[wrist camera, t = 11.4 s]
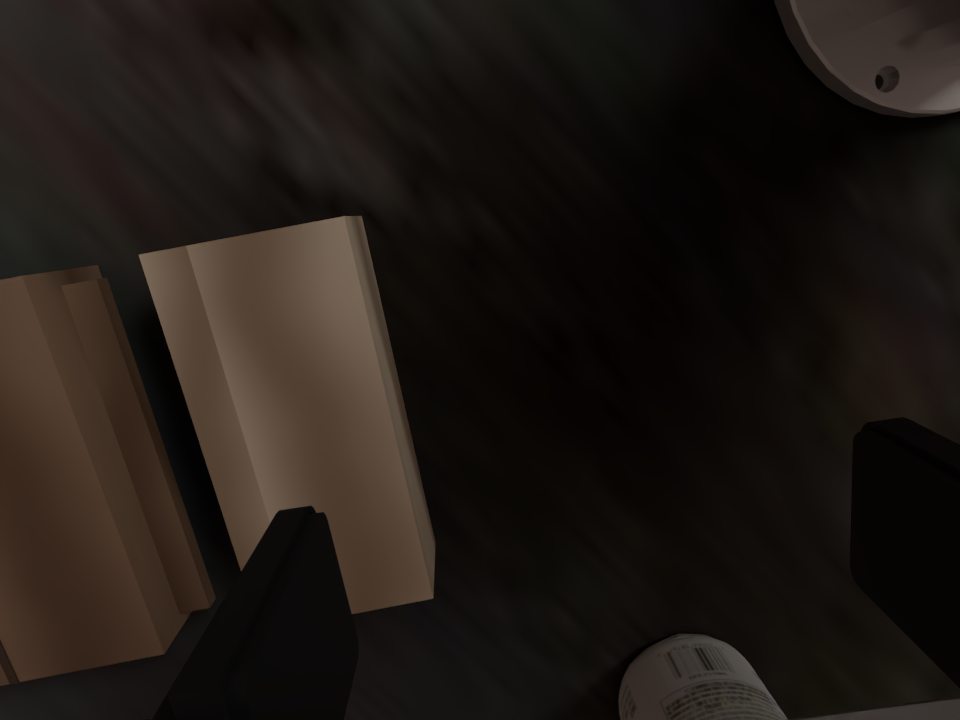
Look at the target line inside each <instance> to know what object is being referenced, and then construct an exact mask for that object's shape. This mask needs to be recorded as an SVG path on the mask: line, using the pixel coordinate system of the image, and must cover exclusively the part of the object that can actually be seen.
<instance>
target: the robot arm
mask: <svg viewBox="0 0 960 720" xmlns="http://www.w3.org/2000/svg"><path fill="white" fill-rule="evenodd" d="M774 2H775V5H776V8H777V10H778V13H779V16H780V18H781V21H782V24H783V26H784V29H785V32H786V34H787V36H788V38H789V40H790V41H791V43H792V44H793V46H794V48H795V49H796V51H797V52H798V54H799V56H800V57H801V59H802V61H803V62H804V64H805V65H806V66H807V67H808V68H809V69H810V70H811V71H812V72H813V73H814V74H815V75H816V76H817V77H818V78H819V79H820V80H821V81H822V82H823V83H824V85H825V86H826V87H828V88H829V89H831V90H832V91H834V92H835V93H837V94H839V95H840V96H842V97H843V98H845V99H846V100H848V101H849V102H851V103H852V104H855V105H858V106H860V107H863V108H866V109H869V110H871V111H874V112H877V113H879V114H885V115H893V116H900V117H908V118H915V117H927V116H939V115H945V114H950V113H954V112H958V111H960V0H774ZM850 569H851V573H852V576H853V578H854V580H855V582H856V584H857V585H858V586H859V588H860V589H861V590H862V591H863V592H864V593H865V594H866V595H867V596H868V597H869V598H870V599H871V600H872V601H873V602H874V603H875V604H876V605H877V606H878V607H879V608H880V609H881V610H882V611H883V612H884V613H885V614H886V615H887V616H888V617H889V618H890V619H891V620H892V621H893V622H894V623H895V624H896V625H897V626H898V627H899V628H900V629H901V630H902V631H903V632H904V633H905V634H906V635H907V636H908V637H909V638H910V639H911V640H912V641H913V642H914V643H915V644H916V645H917V646H918V647H919V648H920V649H921V650H922V651H923V652H924V653H925V654H926V655H927V656H928V657H929V658H930V659H931V660H932V661H933V662H934V663H935V664H936V665H937V666H938V667H939V668H940V669H941V670H942V671H943V672H944V673H945V674H946V675H947V676H948V677H949V678H950V679H951V680H952V681H953V682H954V683H955V684H956V685H957V686H958V687H959V688H960V445H959V444H957V443H955V442H953V441H951V440H949V439H947V438H945V437H943V436H941V435H939V434H937V433H935V432H933V431H931V430H929V429H927V428H925V427H923V426H921V425H919V424H917V423H915V422H913V421H911V420H909V419H907V418H903V417H902V418H895V419H888V420H882V421H875V422H868V423H866V424H865V425H864V426H863V428H862V430H861V432H858V433H857V434H855V437H854V440H853V465H852V504H851V544H850ZM357 660H358V638H357V633H356V629H355V625H354V621H353V617H352V613H351V609H350V605H349V602H348V598H347V594H346V590H345V586H344V582H343V578H342V574H341V570H340V566H339V562H338V558H337V554H336V550H335V547H334V543H333V539H332V535H331V531H330V527H329V523H328V519H327V516H326V515H325V513H324V512H320V513H316V511H315V509H314V507H312V506H305V507H298V508H291V509H285V510H279V511H278V512H277V513H276V514H275V516H274V518H273V519H272V521H271V523H270V524H269V526H268V528H267V529H266V531H265V533H264V534H263V536H262V538H261V539H260V541H259V543H258V544H257V546H256V548H255V550H254V551H253V553H252V555H251V556H250V558H249V560H248V561H247V563H246V565H245V566H244V568H243V570H242V571H241V573H240V575H239V576H238V578H237V580H236V581H235V583H234V585H233V586H232V588H231V590H230V591H229V593H228V595H227V596H226V598H225V600H224V601H223V602H222V604H221V605H220V607H219V609H218V610H217V612H216V614H215V615H214V617H213V619H212V620H211V622H210V624H209V625H208V627H207V629H206V630H205V632H204V634H203V635H202V637H201V639H200V640H199V642H198V644H197V645H196V647H195V649H194V650H193V652H192V654H191V655H190V657H189V659H188V660H187V662H186V664H185V666H184V667H183V669H182V671H181V672H180V674H179V676H178V677H177V679H176V681H175V682H174V684H173V686H172V687H171V689H170V691H169V692H168V694H167V696H166V697H165V699H164V701H163V702H162V704H161V706H160V707H159V709H158V711H157V712H156V714H155V716H154V717H153V719H152V720H344V716H345V711H346V707H347V703H348V699H349V694H350V690H351V686H352V682H353V677H354V673H355V669H356V665H357ZM146 720H150V719H146ZM788 720H960V696H957V697H949V698H942V699H934V700H927V701H920V702H912V703H905V704H897V705H890V706H883V707H875V708H868V709H860V710H853V711H846V712H839V713H831V714H824V715H817V716H810V717H802V718H795V719H788Z"/></svg>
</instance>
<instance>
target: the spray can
mask: <svg viewBox="0 0 960 720" xmlns="http://www.w3.org/2000/svg"><path fill="white" fill-rule="evenodd" d="M618 702H619V715H620V719H621V720H788V719H787V718H786V716H785V715H784V713H783V712H782V710H781V709H780V708H779V706H778V705H777V703H776V702H775V700H774V699H773V697H772V696H771V694H770V693H769V691H768V690H767V688H766V687H765V686H764V684H763V683H762V681H761V680H760V678H759V677H758V675H757V674H756V672H755V671H754V669H753V668H752V667H751V665H750V664H749V663H748V661H747V660H746V659H745V658H744V657H743V656H742V655H741V654H740V653H739V652H738V651H737V650H736V649H734V648H733V647H732V646H731V645H729V644H728V643H726V642H723V641H720V640H717V639H715V638H712V637H710V636H707V635H701V634H675V635H673V636H671V637H668V638H666V639H664V640H662V641H660V642H658V643H656V644H654V645H652V646H650V647H648V648H647V649H645V650H644V651H643V652H642V653H641V654H639V655H638V656H637V657H636V658H635V659H634V660H633V661H632V662H631V663H630V664H629V665H628V668H627V670H626V672H625V674H624V676H623V678H622V681H621V686H620V691H619V699H618Z"/></svg>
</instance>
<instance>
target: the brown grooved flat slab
mask: <svg viewBox="0 0 960 720" xmlns="http://www.w3.org/2000/svg"><path fill="white" fill-rule="evenodd" d="M215 599H216V597H215V594H214V591H213V588H212V585H211V582H210V579H209V576H208V573H207V570H206V567H205V564H204V561H203V558H202V556H201V553H200V550H199V547H198V544H197V541H196V538H195V535H194V532H193V529H192V526H191V523H190V520H189V517H188V514H187V512H186V509H185V506H184V503H183V500H182V497H181V494H180V491H179V488H178V485H177V482H176V479H175V476H174V473H173V470H172V467H171V465H170V462H169V459H168V456H167V453H166V450H165V447H164V444H163V441H162V438H161V435H160V432H159V429H158V426H157V423H156V421H155V418H154V415H153V412H152V409H151V406H150V403H149V400H148V397H147V394H146V391H145V388H144V385H143V382H142V379H141V377H140V374H139V371H138V368H137V365H136V362H135V359H134V356H133V353H132V350H131V347H130V344H129V341H128V338H127V335H126V333H125V330H124V327H123V324H122V321H121V318H120V315H119V312H118V309H117V306H116V303H115V300H114V297H113V294H112V291H111V288H110V286H109V283H108V280H107V277H106V278H102V276H101V273H100V270H99V267H98V265H95V266H88V267H81V268H74V269H67V270H60V271H53V272H46V273H39V274H32V275H25V276H19V277H13V278H8V279H3V280H0V686H2V685H7V684H10V685H14V684H18V683H19V682H23V681H28V680H33V679H38V678H44V677H49V676H54V675H59V674H64V673H70V672H75V671H80V670H85V669H90V668H95V667H101V666H106V665H111V664H116V663H121V662H127V661H132V660H137V659H142V658H147V657H153V656H158V655H163V654H165V653H166V651H167V649H168V648H169V646H170V645H171V643H172V642H173V640H174V639H175V637H176V635H177V634H178V632H179V631H180V629H181V628H182V626H183V625H184V623H185V622H186V620H187V618H188V617H189V615H190V614H191V612H192V611H196V610H201V609H207V608H210V607H211V605H212V604H213V602H214V601H215Z"/></svg>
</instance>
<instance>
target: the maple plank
mask: <svg viewBox="0 0 960 720" xmlns="http://www.w3.org/2000/svg"><path fill="white" fill-rule="evenodd" d="M139 258H140V261H141V264H142V267H143V270H144V273H145V276H146V280H147V283H148V286H149V289H150V292H151V295H152V298H153V301H154V304H155V307H156V310H157V313H158V317H159V320H160V323H161V326H162V329H163V332H164V335H165V338H166V341H167V344H168V347H169V350H170V354H171V357H172V360H173V363H174V366H175V369H176V372H177V375H178V378H179V381H180V384H181V387H182V391H183V394H184V397H185V400H186V403H187V406H188V409H189V412H190V415H191V418H192V421H193V424H194V428H195V431H196V434H197V437H198V440H199V443H200V446H201V449H202V452H203V455H204V458H205V461H206V465H207V468H208V471H209V474H210V477H211V480H212V483H213V486H214V489H215V492H216V495H217V499H218V502H219V505H220V508H221V511H222V514H223V517H224V520H225V523H226V526H227V529H228V532H229V536H230V539H231V542H232V545H233V548H234V551H235V554H236V557H237V560H238V563H239V566H240V569H241V571H242V570H243V568H244V566H245V565H246V563H247V561H248V560H249V558H250V556H251V555H252V553H253V551H254V550H255V548H256V546H257V544H258V543H259V541H260V539H261V538H262V536H263V534H264V533H265V531H266V529H267V528H268V526H269V524H270V523H271V521H272V519H273V518H274V516H275V514H276V513H277V512H278V511H279V510H285V509H291V508H298V507H305V506H312V507H314V509H315V511H316V513H320V512H324V513H325V515H326V516H327V519H328V523H329V527H330V531H331V535H332V539H333V543H334V547H335V550H336V554H337V558H338V562H339V566H340V570H341V574H342V578H343V582H344V586H345V590H346V594H347V598H348V602H349V605H350V609H351V613H352V614H356V613H361V612H366V611H372V610H377V609H382V608H387V607H392V606H397V605H403V604H408V603H413V602H418V601H423V600H428V599H433V595H434V569H435V538H434V534H433V529H432V525H431V521H430V516H429V512H428V507H427V503H426V499H425V494H424V490H423V485H422V481H421V476H420V472H419V468H418V463H417V459H416V454H415V450H414V445H413V441H412V437H411V432H410V428H409V423H408V419H407V415H406V410H405V406H404V401H403V397H402V392H401V388H400V384H399V379H398V375H397V370H396V366H395V361H394V357H393V353H392V348H391V344H390V339H389V335H388V331H387V326H386V322H385V317H384V313H383V308H382V304H381V300H380V295H379V291H378V286H377V282H376V277H375V273H374V269H373V264H372V260H371V255H370V251H369V247H368V242H367V238H366V233H365V229H364V224H363V220H362V216H343V217H337V218H332V219H327V220H321V221H316V222H311V223H305V224H300V225H295V226H289V227H284V228H279V229H273V230H268V231H263V232H257V233H252V234H247V235H241V236H236V237H231V238H225V239H220V240H215V241H209V242H204V243H199V244H194V245H188V246H183V247H178V248H172V249H167V250H162V251H156V252H151V253H146V254H140V255H139Z"/></svg>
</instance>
